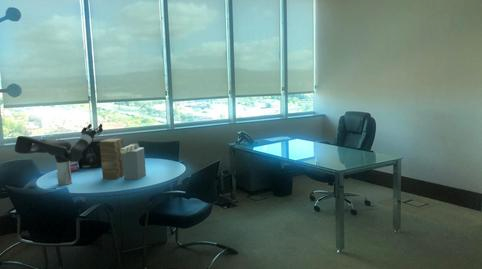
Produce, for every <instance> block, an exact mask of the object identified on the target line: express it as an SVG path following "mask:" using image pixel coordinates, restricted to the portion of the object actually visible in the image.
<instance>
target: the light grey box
mask: <svg viewBox="0 0 482 269" xmlns="http://www.w3.org/2000/svg"><path fill="white" fill-rule="evenodd" d="M145 156H146V155H145V147H139V148H138V149H134V150H132V151H130V152H127V153H125V154H122V159H123V172H124V176H123V179H124V180H140V179H142V178H143V177H145V176H147V171H146V170H147V169H146V158H145Z"/></svg>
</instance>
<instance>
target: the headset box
mask: <svg viewBox="0 0 482 269" xmlns="http://www.w3.org/2000/svg"><path fill="white" fill-rule="evenodd" d="M103 140H105V139H104V138H100V139H93V140H92V141H91V143H90V144H89V145H88V147H87V148H86V149H85V150H84V151H82V154H81V159H80V160H79V161H78V162H77V163H78V170H80V169H81V170H83V169H96V168H102V164H101V153H100V141H103ZM76 144H77V142H76V143H75V145H76Z"/></svg>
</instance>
